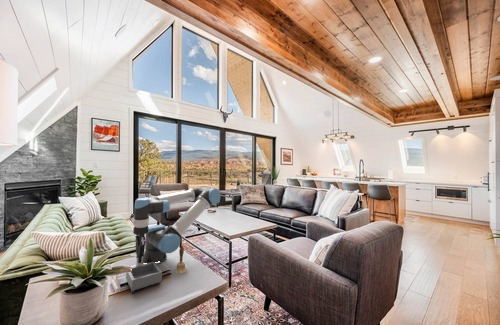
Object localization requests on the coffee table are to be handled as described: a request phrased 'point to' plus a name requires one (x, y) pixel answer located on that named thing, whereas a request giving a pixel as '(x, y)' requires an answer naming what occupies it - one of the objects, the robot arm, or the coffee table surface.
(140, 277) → the grey footed planter box
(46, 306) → the coffee table surface
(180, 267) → the hand bell
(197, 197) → the robot arm
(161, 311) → the coffee table surface
